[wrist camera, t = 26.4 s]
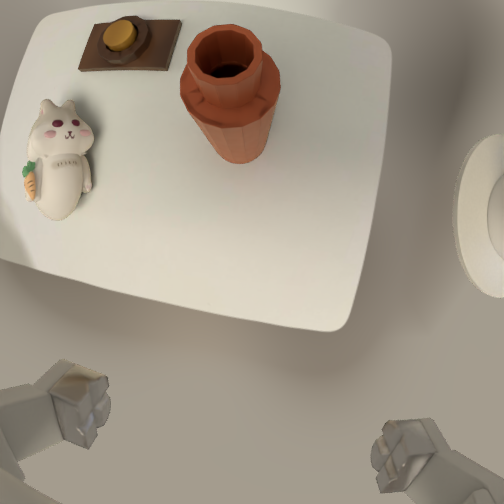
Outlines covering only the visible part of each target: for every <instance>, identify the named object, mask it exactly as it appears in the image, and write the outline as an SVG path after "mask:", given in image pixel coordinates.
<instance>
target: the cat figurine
mask: <svg viewBox="0 0 504 504" xmlns="http://www.w3.org/2000/svg"><path fill="white" fill-rule="evenodd" d="M93 142H94V135H93V133H92V130H91V128H90V127H89V126H88V125H87V124H86V123H84V122H83V121H82V120H81V119H80V117H79V116H78V115H77V114H76V112H75V103H74V101H73V100H67V101H66V102H65V103H64V104H63V105H62V106H61V107H57V106H56V105H55V104H54V103H53V102H52V101H51V100H49V99H45V100H43V101H42V102H41V107H40V113H39V117H38V119H37V120H36V122H35V123H34V125H33V127H32V129H31V132H30V135H29V139H28V145H27V157H28V159H29V161H28V162H27V166H24V168H23V171H22V174H23V176H24V177H25V180H24V186H25V196H26V200H27V201H28V202H31V201H34V202H35V203H36V205H37V207H38V208H39V210H40V211H41V213H42V214H43V215H44V216H46V217H47V218H49V219H51V220H55V221H60V220H63V219H65V218H67V217H68V216H69V215H70V214H71V213H72V212H73V211H74V209H75V208H76V206H77V204H78V201H79V198H80V195H81V191H82V192H84V193H87V192H90V191H91V187H92V183H91V172H90V167H89V164H88V161H87V159H86V157H85V156H84V154H86V153H87V152H86V151H87V150H88V149H89V148H90V147H91V146H92V144H93ZM84 152H86V153H84ZM28 163H29V165H28Z"/></svg>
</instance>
